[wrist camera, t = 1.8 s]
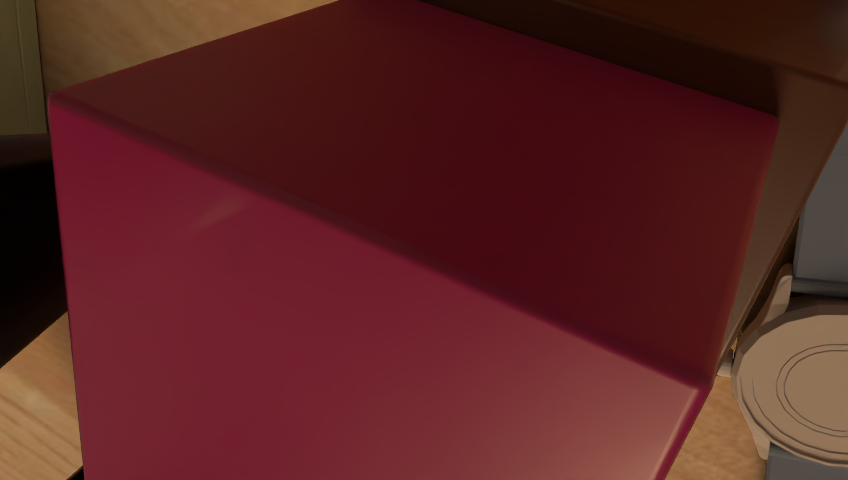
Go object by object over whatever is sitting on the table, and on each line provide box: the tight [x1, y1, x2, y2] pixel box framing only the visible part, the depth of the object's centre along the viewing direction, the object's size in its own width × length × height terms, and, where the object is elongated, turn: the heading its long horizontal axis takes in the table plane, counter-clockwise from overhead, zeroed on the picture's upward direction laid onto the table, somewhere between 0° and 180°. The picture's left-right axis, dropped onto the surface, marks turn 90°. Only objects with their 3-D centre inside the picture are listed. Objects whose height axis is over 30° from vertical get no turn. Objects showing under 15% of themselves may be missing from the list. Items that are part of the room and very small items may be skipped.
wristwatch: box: [717, 123, 848, 480], centre depth 15 cm, size 4×20×1 cm, turn 6°
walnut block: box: [418, 0, 848, 377], centre depth 12 cm, size 6×6×6 cm
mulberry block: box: [47, 0, 779, 480], centre depth 8 cm, size 5×5×5 cm
